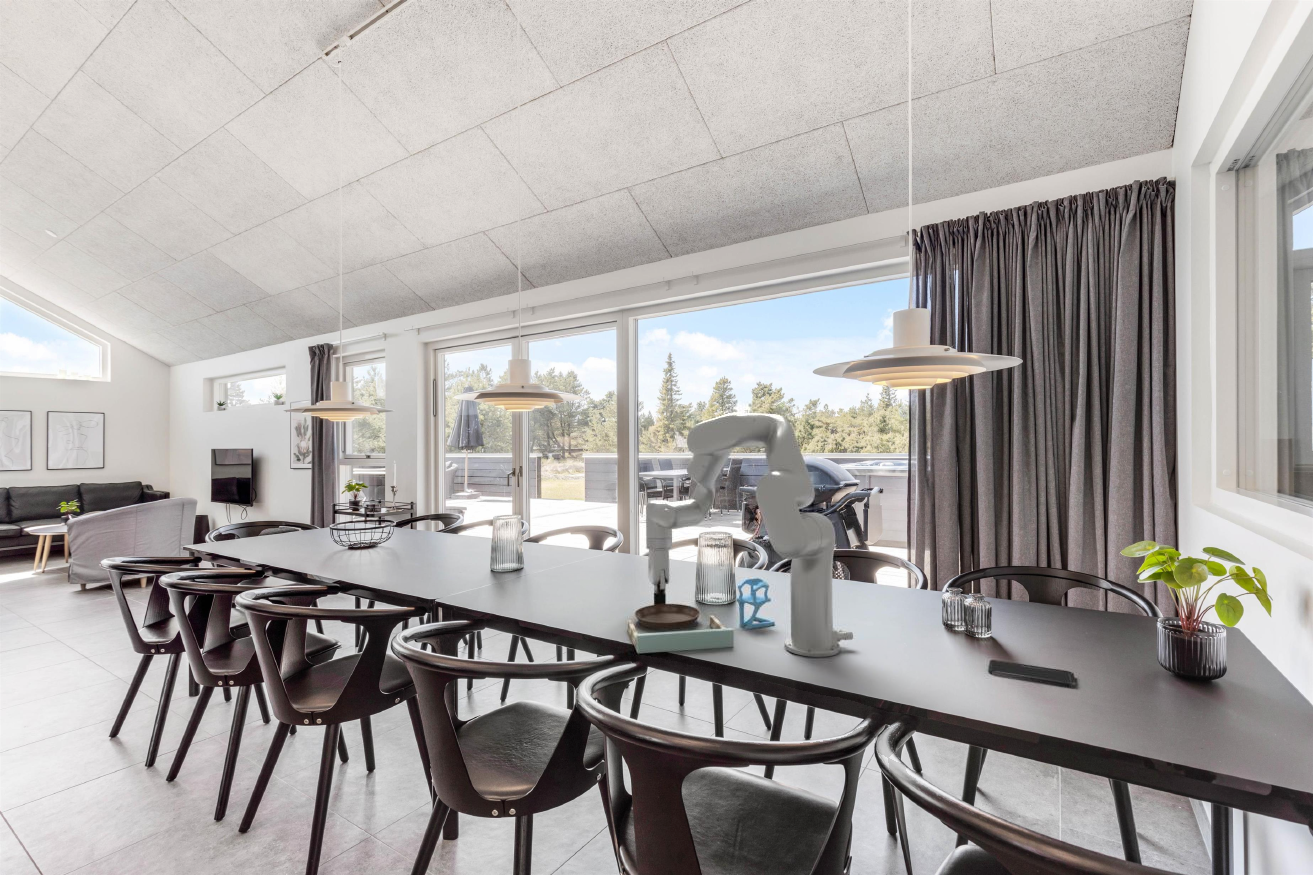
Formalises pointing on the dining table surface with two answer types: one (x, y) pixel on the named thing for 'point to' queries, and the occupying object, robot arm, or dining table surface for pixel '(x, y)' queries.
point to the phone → (1032, 673)
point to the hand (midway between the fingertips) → (659, 606)
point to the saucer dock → (683, 639)
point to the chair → (753, 603)
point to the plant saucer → (667, 616)
